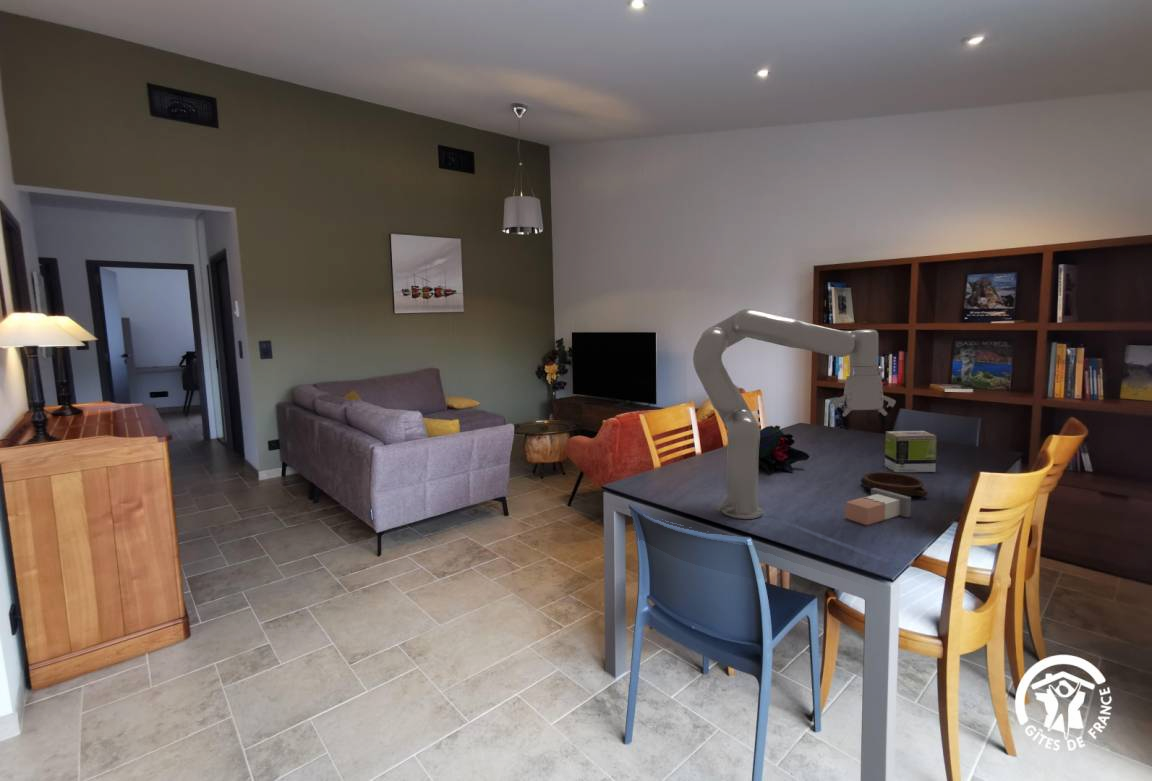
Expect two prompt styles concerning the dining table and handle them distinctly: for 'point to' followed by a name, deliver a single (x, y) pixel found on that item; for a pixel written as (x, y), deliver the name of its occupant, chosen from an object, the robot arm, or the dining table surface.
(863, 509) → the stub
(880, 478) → the dish
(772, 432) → the decorative plant
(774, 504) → the dining table surface
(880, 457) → the dining table surface
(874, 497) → the white block
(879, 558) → the dining table surface
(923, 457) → the tea box
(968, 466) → the dining table surface
